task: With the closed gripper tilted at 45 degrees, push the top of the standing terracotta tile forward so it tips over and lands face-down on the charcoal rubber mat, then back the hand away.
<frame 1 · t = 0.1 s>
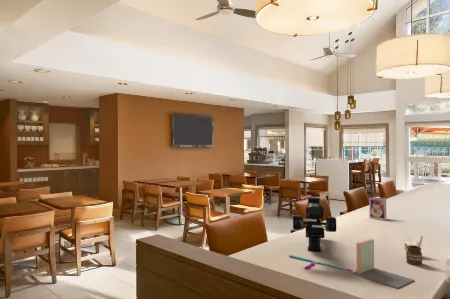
hand: (314, 227, 137), 17 cm above the counter, tool horizontal, fingers open, 9 cm apart
utensil holder: (414, 263, 141), on the counter
elephant figurine: (411, 255, 152), on the counter
rubber mat: (382, 277, 125), on the counter
ceramic tile: (365, 255, 131), point 6 cm above the counter, touching rubber mat
squeegee: (314, 268, 138), on the counter
greeting card: (379, 219, 233), on the counter
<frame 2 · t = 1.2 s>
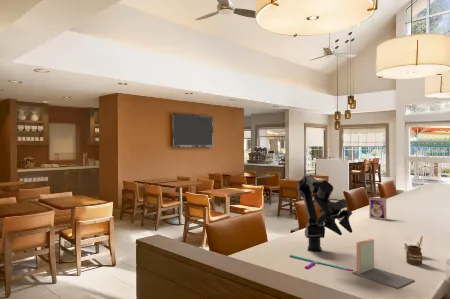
hand: (346, 233, 138), 14 cm above the counter, tool tilted 45°, fingers open, 7 cm apart
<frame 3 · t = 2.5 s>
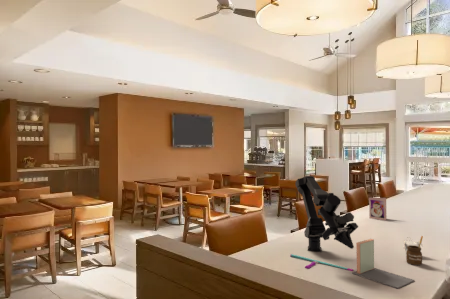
hand: (352, 248, 136), 8 cm above the counter, tool tilted 45°, fingers closed
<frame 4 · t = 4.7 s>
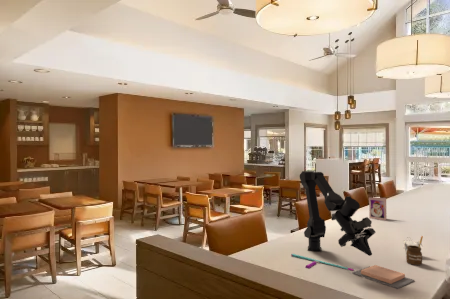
hand: (370, 255, 129), 7 cm above the counter, tool tilted 45°, fingers closed
ceramic tile: (382, 273, 125), point 1 cm above the counter, tilted 90°, touching rubber mat
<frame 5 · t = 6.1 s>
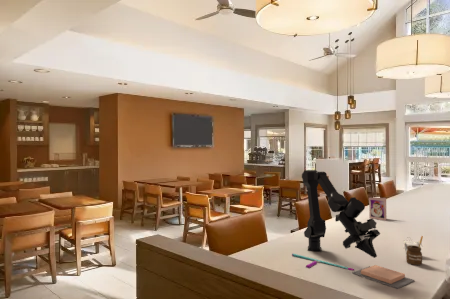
hand: (375, 257, 127), 7 cm above the counter, tool tilted 45°, fingers closed
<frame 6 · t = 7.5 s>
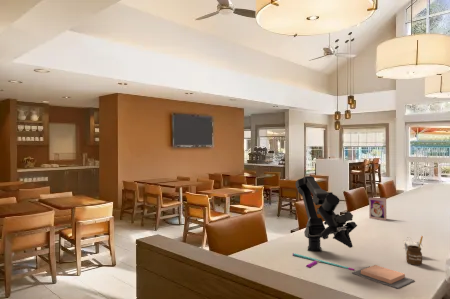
hand: (351, 247, 136), 8 cm above the counter, tool tilted 45°, fingers closed
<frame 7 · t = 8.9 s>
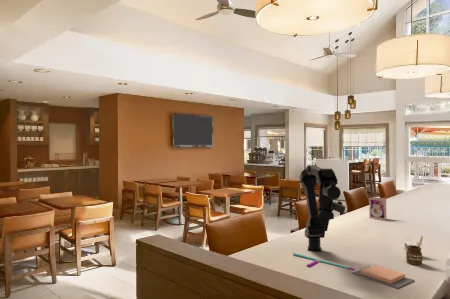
hand: (325, 231, 146), 13 cm above the counter, tool pointing down, fingers closed
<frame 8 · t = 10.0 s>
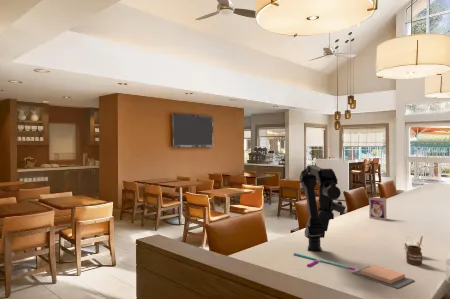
hand: (325, 231, 146), 13 cm above the counter, tool pointing down, fingers closed
at the end: ceramic tile tilted 90°; ceramic tile inside the target area (0.1 cm from its centre), point 1.3 cm above the counter; ceramic tile touching rubber mat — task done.
